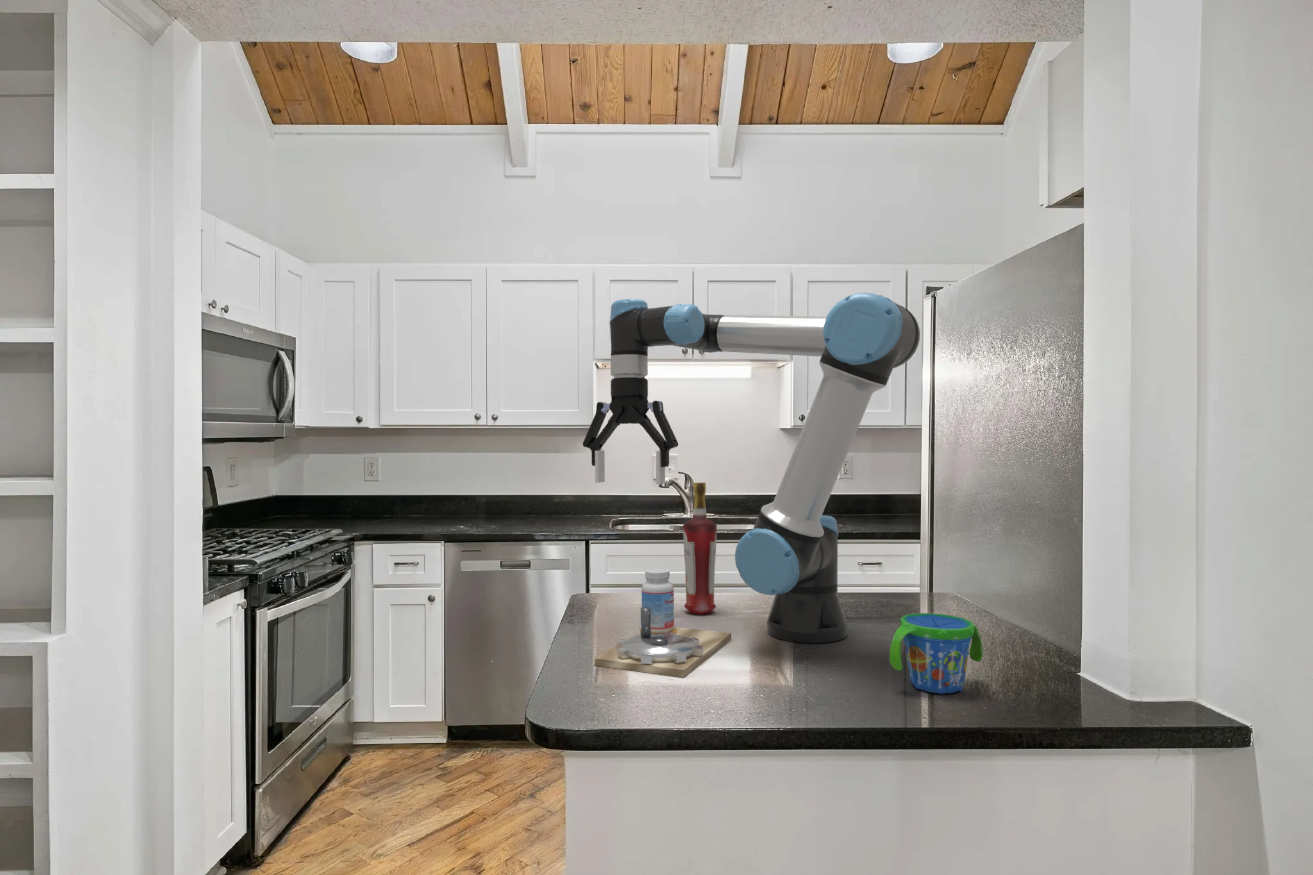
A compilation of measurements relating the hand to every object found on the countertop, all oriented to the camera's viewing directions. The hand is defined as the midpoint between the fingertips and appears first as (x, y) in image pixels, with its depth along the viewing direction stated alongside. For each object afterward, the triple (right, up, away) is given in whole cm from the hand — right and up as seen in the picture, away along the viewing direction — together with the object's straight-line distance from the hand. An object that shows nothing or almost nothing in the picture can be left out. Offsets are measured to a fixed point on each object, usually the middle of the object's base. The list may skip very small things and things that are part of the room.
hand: (629, 483), depth 152 cm
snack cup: (+48, -29, -38) cm, 67 cm away
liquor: (+15, -29, +11) cm, 34 cm away
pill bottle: (+6, -27, -10) cm, 30 cm away
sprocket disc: (+6, -27, -23) cm, 36 cm away
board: (+7, -29, -18) cm, 35 cm away
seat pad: (+6, -28, -9) cm, 30 cm away
